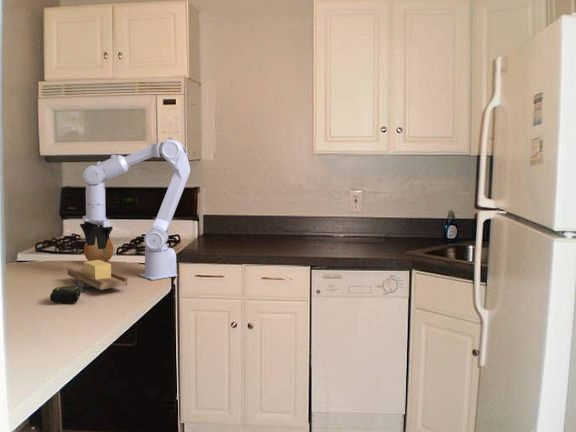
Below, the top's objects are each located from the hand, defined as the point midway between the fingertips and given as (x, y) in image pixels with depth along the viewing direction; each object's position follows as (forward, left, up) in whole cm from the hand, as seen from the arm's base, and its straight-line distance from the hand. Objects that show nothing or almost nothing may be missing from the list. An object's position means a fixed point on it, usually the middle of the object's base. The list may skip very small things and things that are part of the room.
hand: (96, 247), depth 168 cm
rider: (+6, +13, -6) cm, 15 cm away
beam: (+6, +12, -7) cm, 15 cm away
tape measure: (+19, +22, -10) cm, 31 cm away
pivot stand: (+6, +12, -9) cm, 16 cm away
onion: (-8, -16, -10) cm, 20 cm away
